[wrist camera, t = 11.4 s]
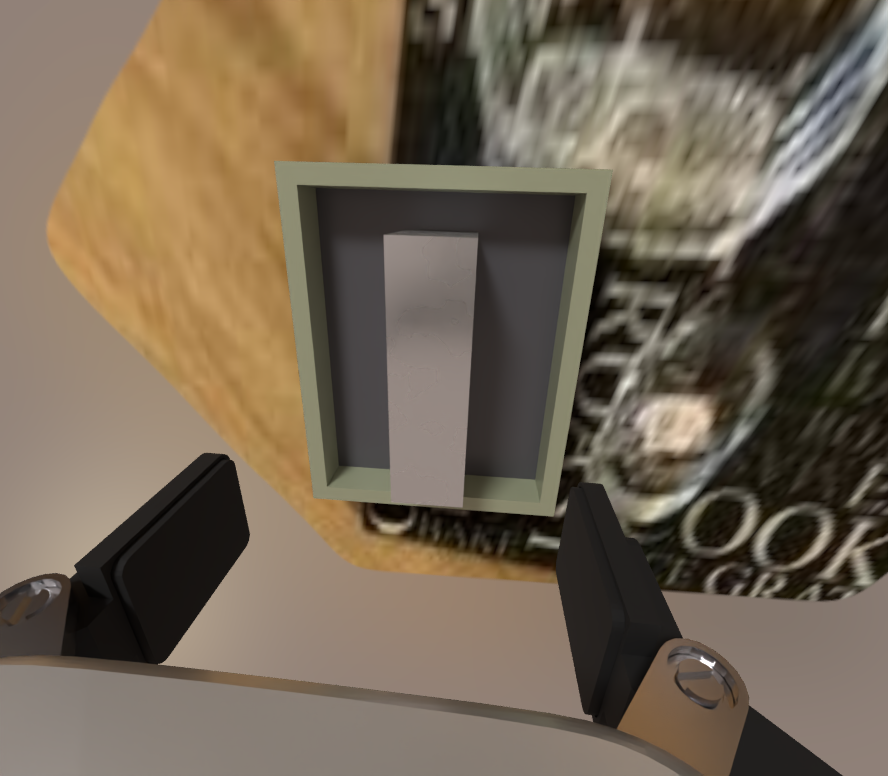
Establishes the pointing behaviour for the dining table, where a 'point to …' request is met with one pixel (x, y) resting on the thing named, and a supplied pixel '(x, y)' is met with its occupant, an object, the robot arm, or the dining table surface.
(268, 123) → the dining table surface
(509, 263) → the case
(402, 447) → the bar
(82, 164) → the dining table surface
